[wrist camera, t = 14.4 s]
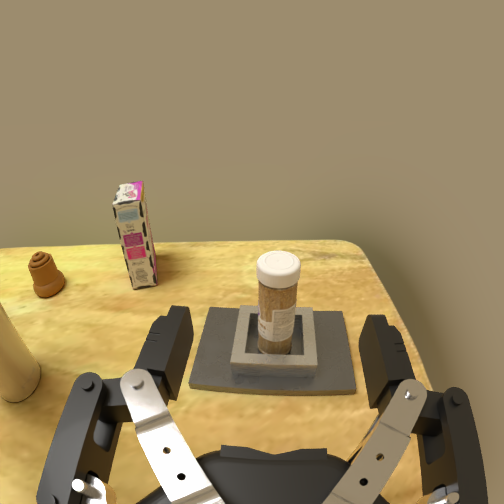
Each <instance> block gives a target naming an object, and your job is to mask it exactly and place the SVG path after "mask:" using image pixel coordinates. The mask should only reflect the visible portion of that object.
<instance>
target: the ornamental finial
mask: <svg viewBox="0 0 504 504" xmlns="http://www.w3.org/2000/svg"><path fill="white" fill-rule="evenodd" d="M28 268H29V271H30V273H31V276H32V278H33V281H34V284H33V288H34V291H35V293H36V294H37V295H38V296H40V297H50V296H53V295H55V294H56V293H58V292H59V291H60V290H61V289H62V287H63V285H64V281H65V279H64V275H63V274H62V272H61V271H59V270H58V269H57V267H56V265H55V263H54V260H53V258H52V256H51V254H48V253H45V252H41V251H40V252H37V253H35V254H34V255H33V256H32V259H31V260H30V262H29V265H28Z"/></svg>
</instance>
